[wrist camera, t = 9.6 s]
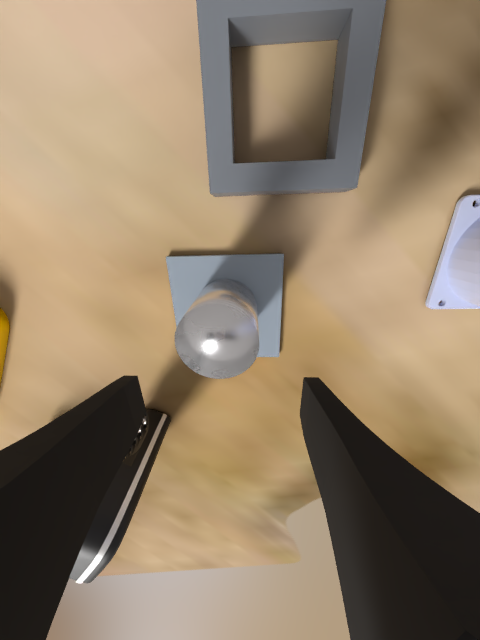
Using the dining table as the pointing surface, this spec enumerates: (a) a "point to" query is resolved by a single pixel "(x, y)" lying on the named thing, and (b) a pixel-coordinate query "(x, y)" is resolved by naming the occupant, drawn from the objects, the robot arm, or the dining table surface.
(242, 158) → the dining table surface
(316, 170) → the frame
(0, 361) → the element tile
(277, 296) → the mat
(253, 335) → the shiny metal cylinder
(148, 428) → the battery charger
